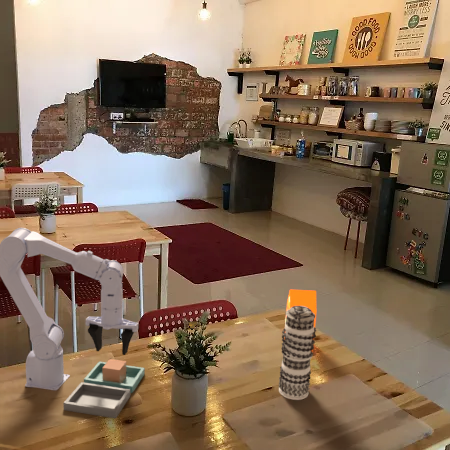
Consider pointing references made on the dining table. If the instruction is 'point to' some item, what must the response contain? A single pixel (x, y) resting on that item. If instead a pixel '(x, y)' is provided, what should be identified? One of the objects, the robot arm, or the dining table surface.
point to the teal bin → (130, 382)
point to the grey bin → (97, 400)
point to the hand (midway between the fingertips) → (111, 351)
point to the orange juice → (302, 300)
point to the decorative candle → (297, 352)
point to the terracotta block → (114, 371)
